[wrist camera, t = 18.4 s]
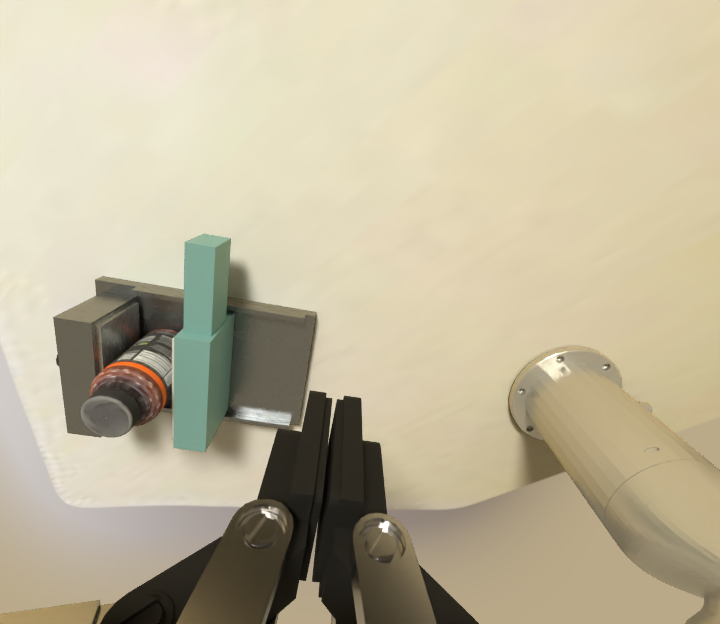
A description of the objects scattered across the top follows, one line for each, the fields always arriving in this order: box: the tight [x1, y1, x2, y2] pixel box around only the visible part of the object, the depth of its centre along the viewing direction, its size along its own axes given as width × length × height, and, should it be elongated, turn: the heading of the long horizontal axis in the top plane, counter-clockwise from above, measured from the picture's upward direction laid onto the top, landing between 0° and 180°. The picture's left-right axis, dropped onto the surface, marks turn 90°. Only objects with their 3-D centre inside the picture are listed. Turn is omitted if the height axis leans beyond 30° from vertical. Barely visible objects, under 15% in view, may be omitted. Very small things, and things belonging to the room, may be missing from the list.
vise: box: [53, 276, 316, 437], centre depth 37 cm, size 23×14×8 cm, turn 79°
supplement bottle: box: [81, 329, 179, 437], centre depth 34 cm, size 6×6×11 cm
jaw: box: [172, 234, 235, 452], centre depth 35 cm, size 3×20×7 cm, turn 169°
